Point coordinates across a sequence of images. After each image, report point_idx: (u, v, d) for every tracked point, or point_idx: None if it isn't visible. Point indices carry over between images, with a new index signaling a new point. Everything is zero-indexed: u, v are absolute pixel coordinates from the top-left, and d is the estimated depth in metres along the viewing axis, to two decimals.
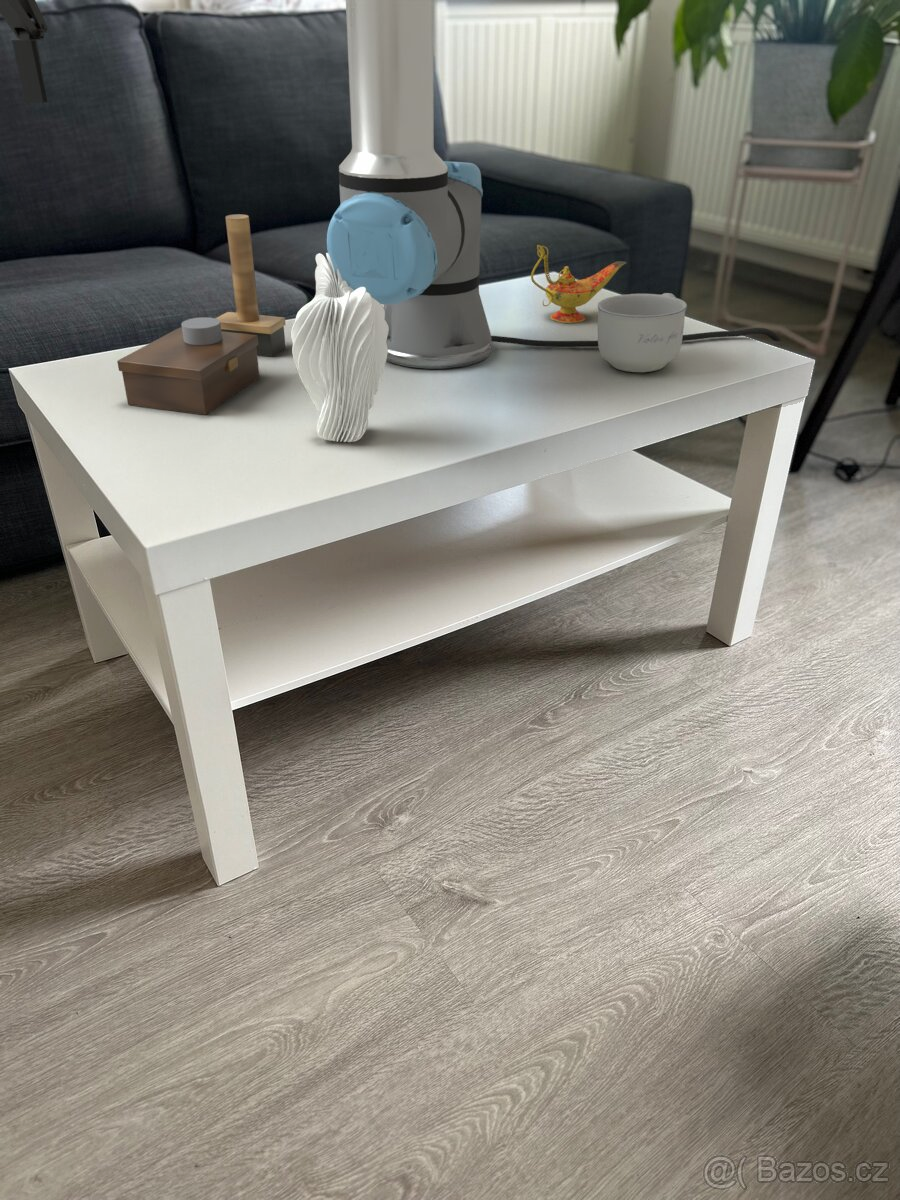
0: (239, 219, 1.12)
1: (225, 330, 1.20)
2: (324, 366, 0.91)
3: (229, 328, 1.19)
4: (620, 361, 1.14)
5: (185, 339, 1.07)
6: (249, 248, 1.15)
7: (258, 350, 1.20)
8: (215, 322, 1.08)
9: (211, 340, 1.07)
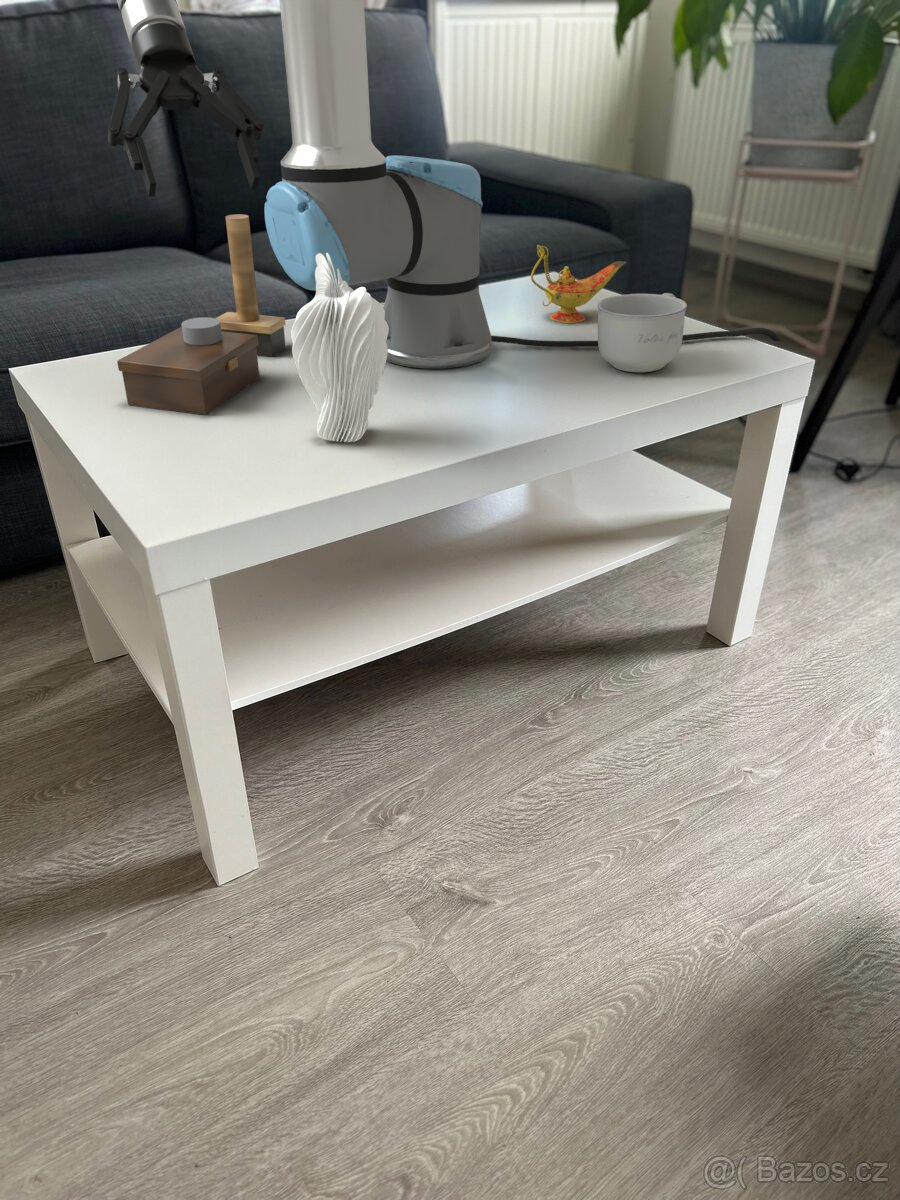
0: (239, 219, 1.12)
1: (225, 330, 1.20)
2: (324, 366, 0.91)
3: (229, 328, 1.19)
4: (620, 361, 1.14)
5: (185, 339, 1.07)
6: (249, 248, 1.15)
7: (258, 350, 1.20)
8: (215, 322, 1.08)
9: (211, 340, 1.07)
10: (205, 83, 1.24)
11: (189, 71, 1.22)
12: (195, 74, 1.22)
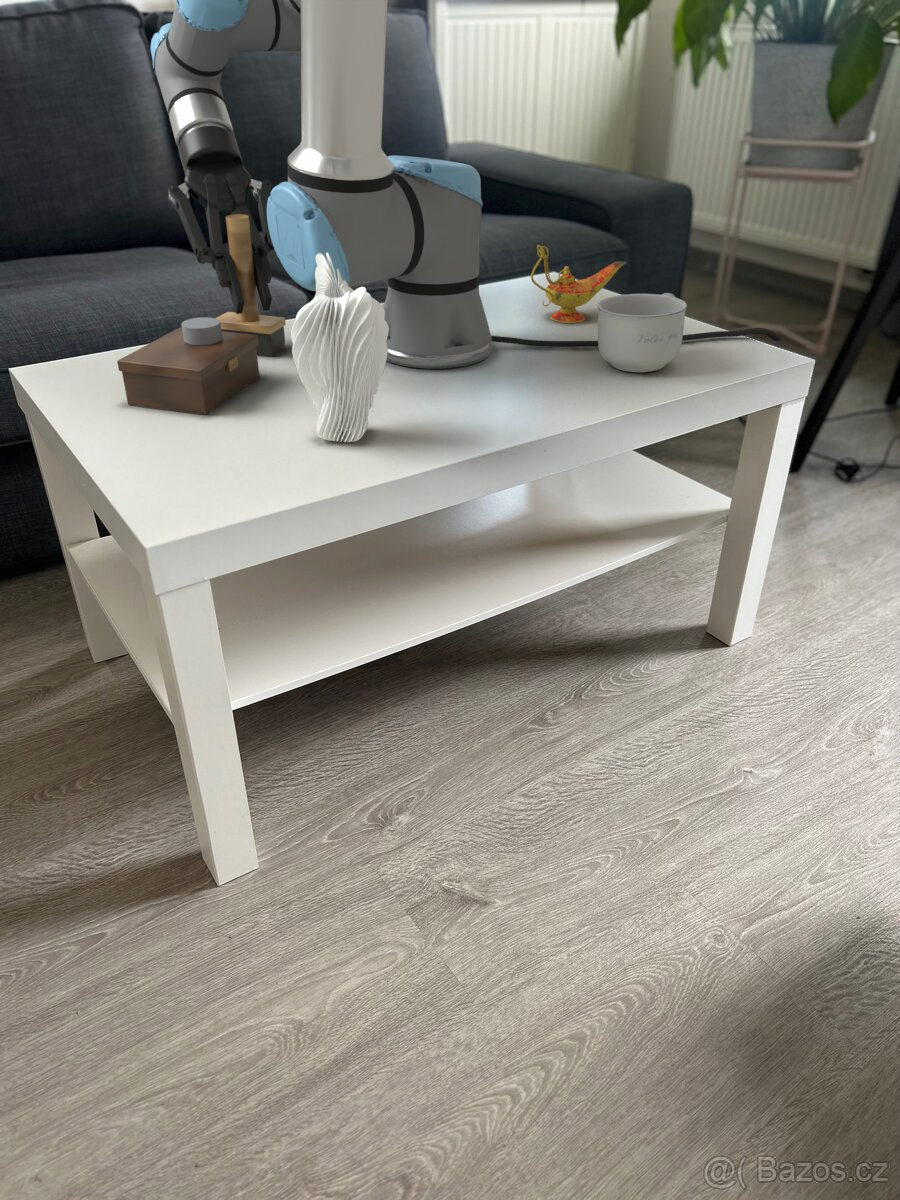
0: (239, 219, 1.12)
1: (225, 330, 1.20)
2: (324, 366, 0.91)
3: (229, 328, 1.19)
4: (620, 361, 1.14)
5: (185, 339, 1.07)
6: (249, 248, 1.15)
7: (258, 350, 1.20)
8: (215, 322, 1.08)
9: (211, 340, 1.07)
10: (250, 188, 1.20)
11: (235, 172, 1.18)
12: (242, 175, 1.19)
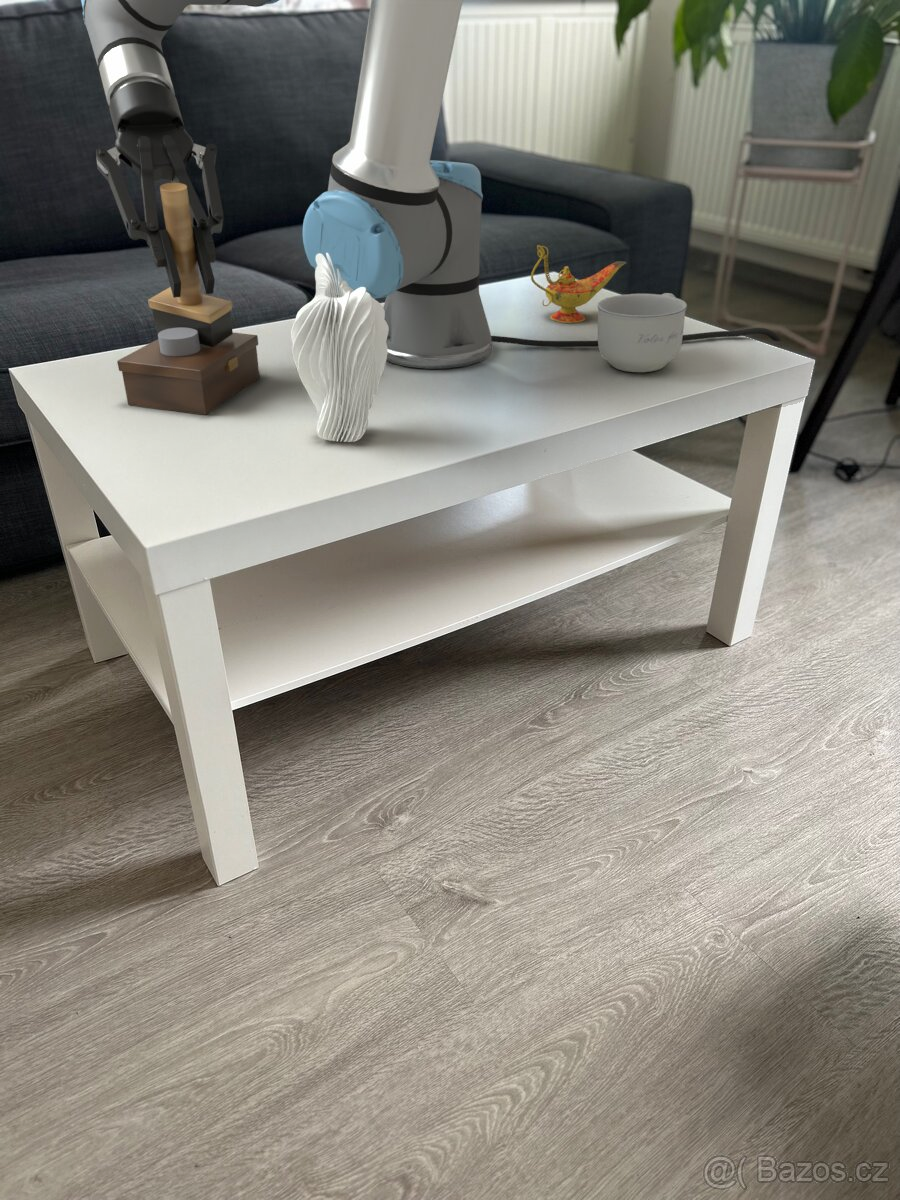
0: (174, 192, 0.97)
1: (163, 312, 1.06)
2: (324, 366, 0.91)
3: (167, 310, 1.06)
4: (620, 361, 1.14)
5: (164, 351, 1.04)
6: (188, 224, 1.00)
7: None
8: (193, 331, 1.05)
9: (191, 351, 1.04)
10: (193, 154, 1.05)
11: (175, 135, 1.03)
12: (182, 139, 1.04)
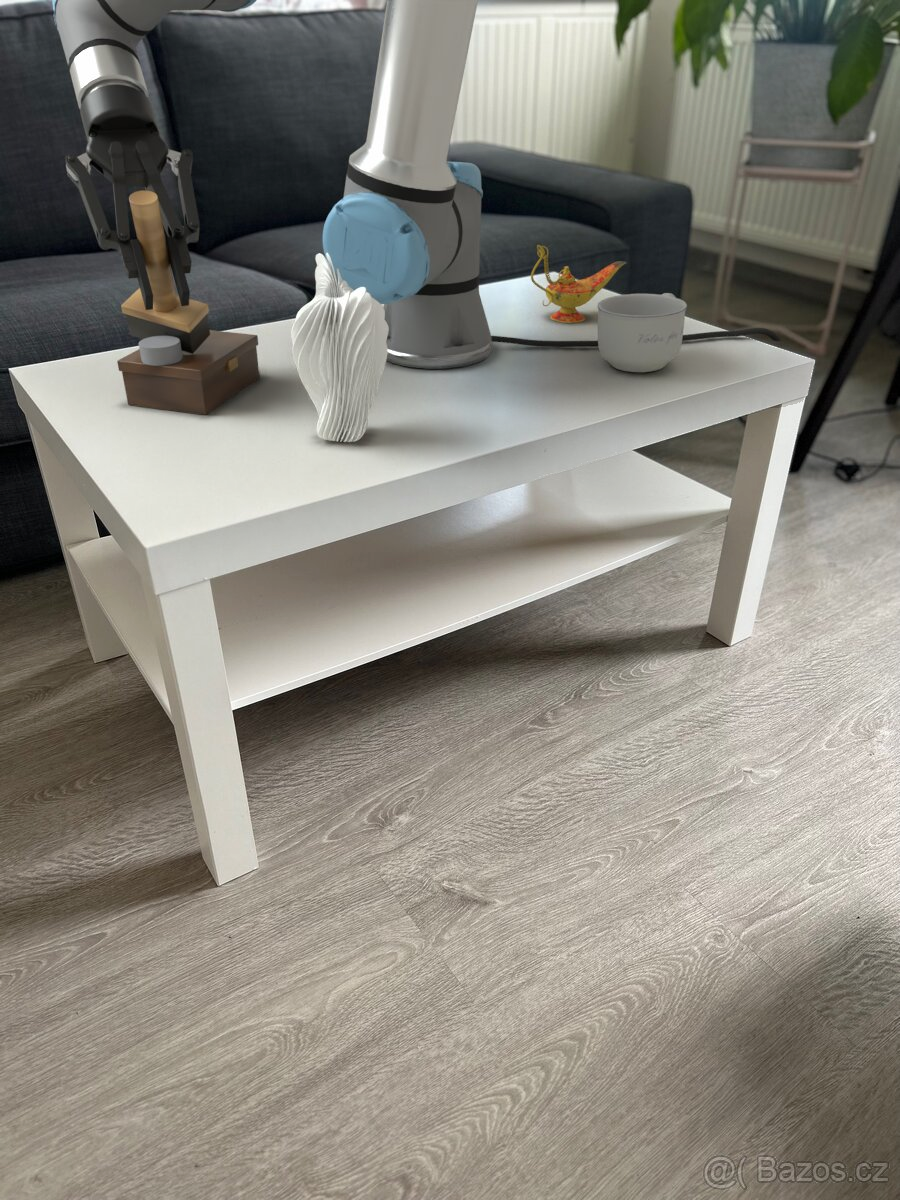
0: (145, 205, 0.93)
1: (138, 318, 1.03)
2: (324, 366, 0.91)
3: (142, 317, 1.03)
4: (620, 361, 1.14)
5: (149, 361, 1.01)
6: (160, 235, 0.96)
7: None
8: (174, 339, 1.02)
9: (178, 358, 1.02)
10: (168, 160, 1.01)
11: (149, 141, 0.99)
12: (156, 144, 0.99)
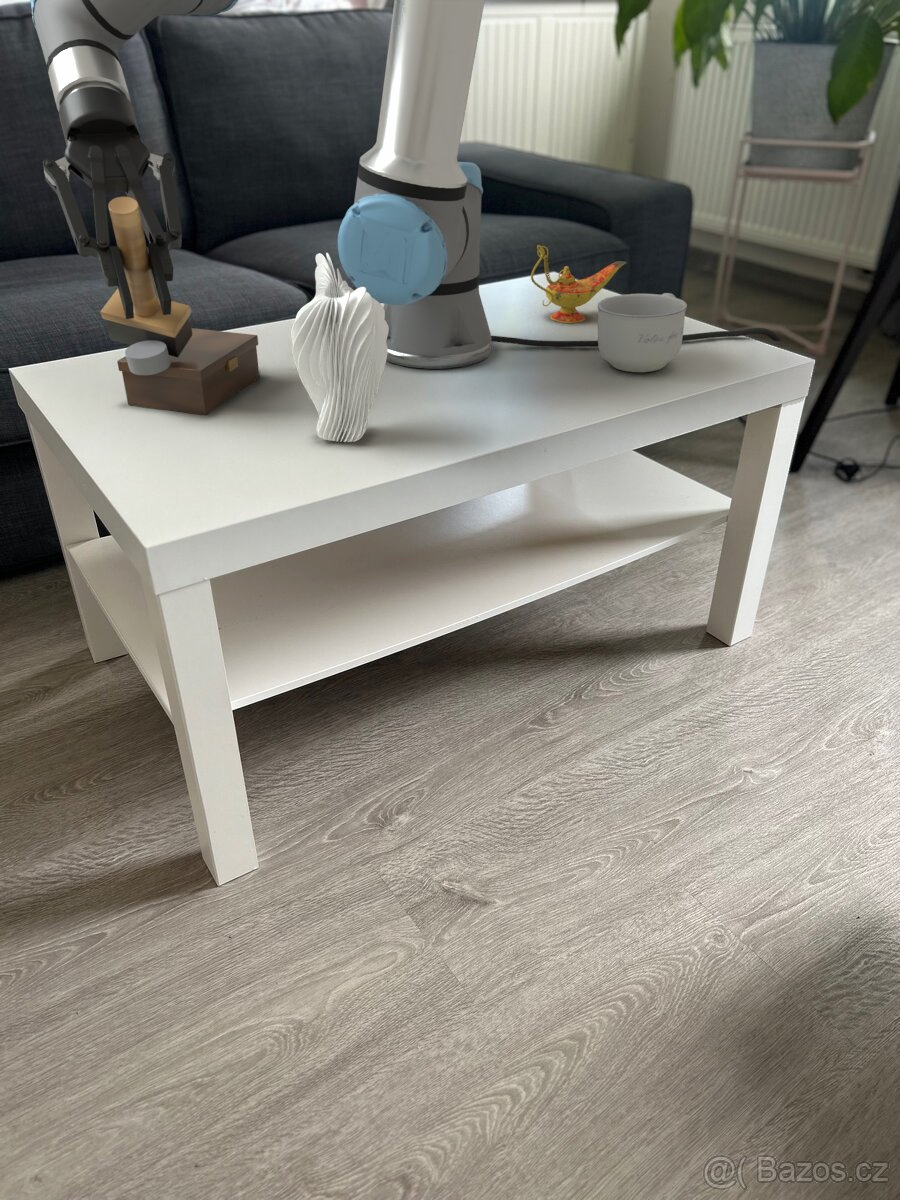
0: (126, 214, 0.90)
1: (118, 323, 1.01)
2: (324, 366, 0.91)
3: (123, 323, 1.00)
4: (620, 361, 1.14)
5: (139, 371, 0.99)
6: (142, 241, 0.93)
7: None
8: (160, 344, 1.00)
9: (167, 364, 1.00)
10: (150, 164, 0.98)
11: (129, 145, 0.96)
12: (137, 148, 0.97)
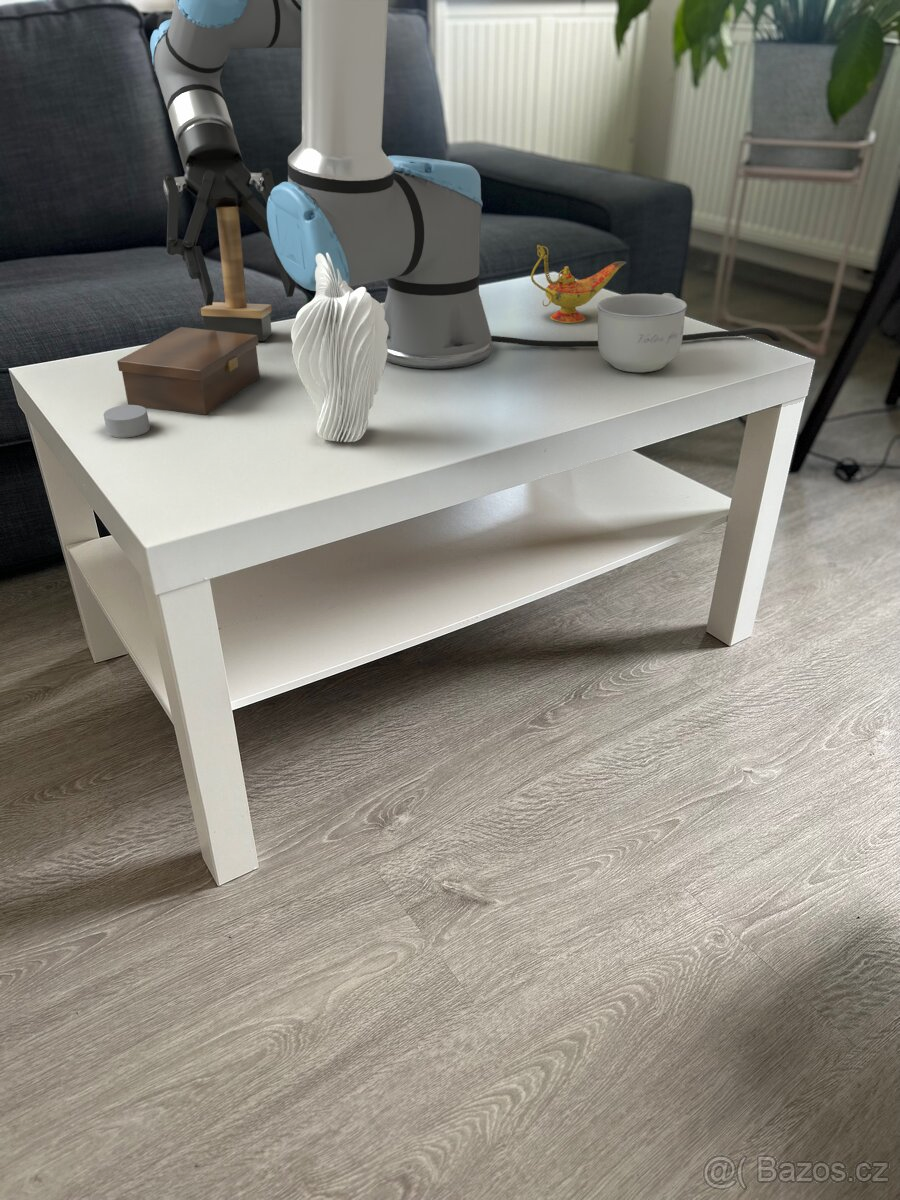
0: (231, 208, 1.18)
1: (215, 317, 1.24)
2: (324, 366, 0.91)
3: (219, 315, 1.23)
4: (620, 361, 1.14)
5: None
6: (239, 236, 1.20)
7: None
8: None
9: (145, 417, 0.98)
10: (252, 182, 1.20)
11: (235, 169, 1.18)
12: (241, 172, 1.18)
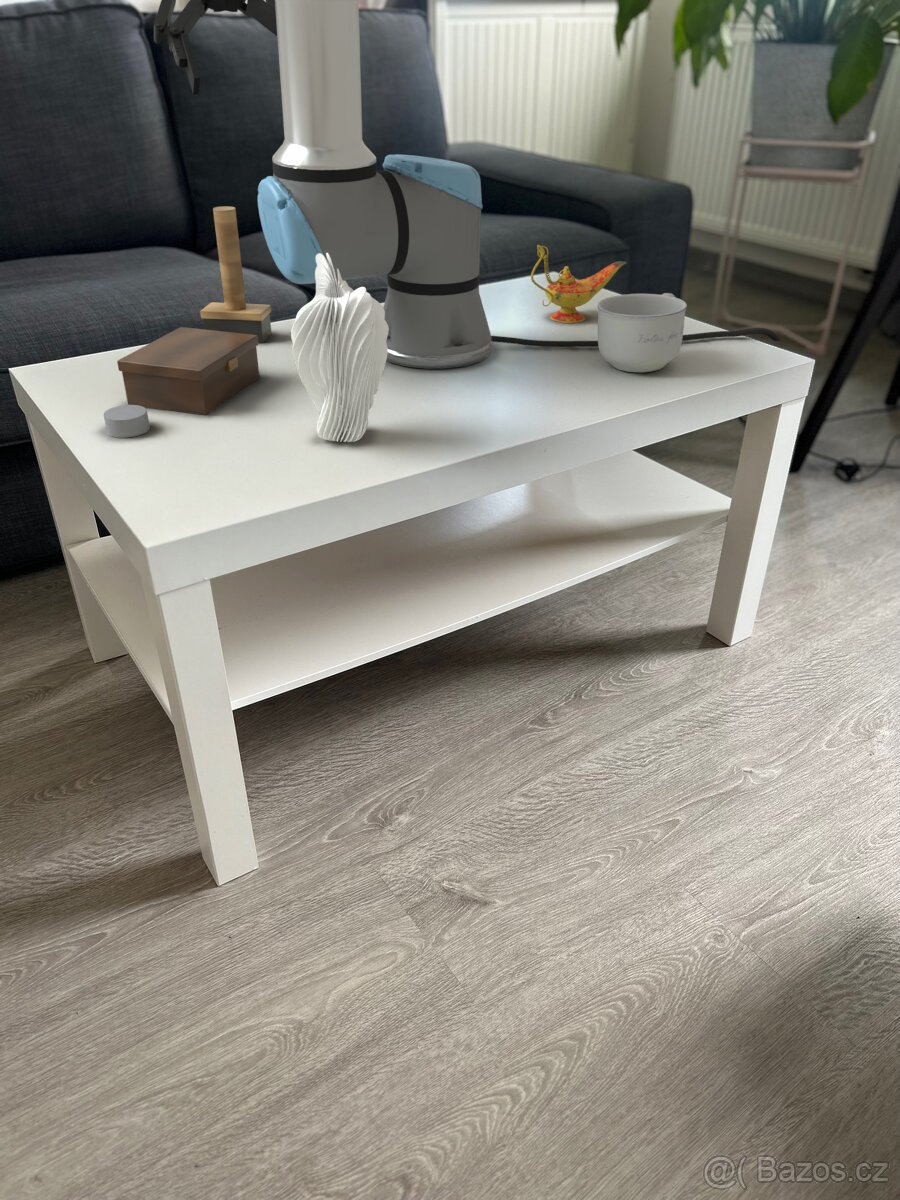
0: (228, 210, 1.17)
1: (214, 319, 1.24)
2: (324, 366, 0.91)
3: (219, 317, 1.23)
4: (620, 361, 1.14)
5: None
6: (237, 239, 1.19)
7: None
8: None
9: (145, 417, 0.98)
10: None
11: None
12: None
